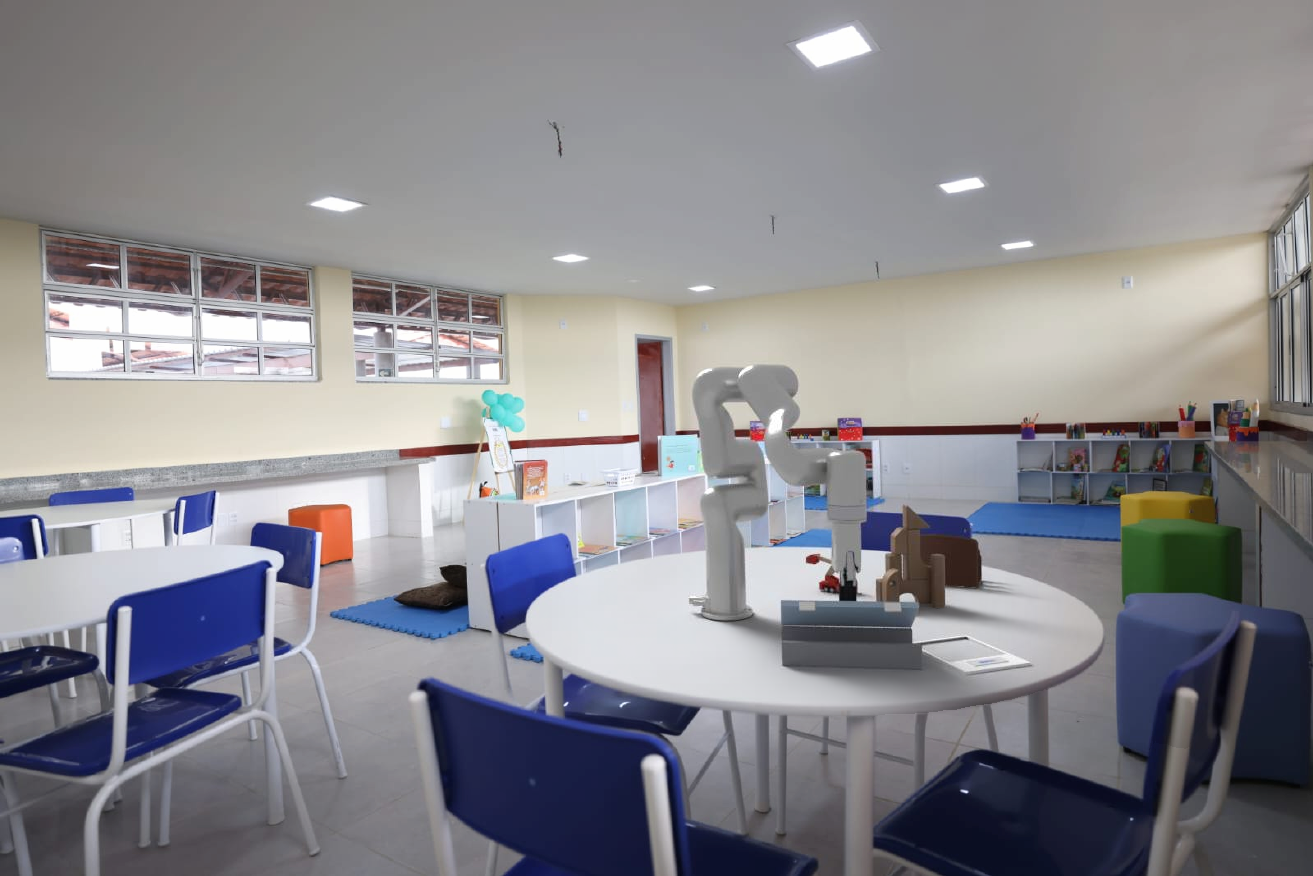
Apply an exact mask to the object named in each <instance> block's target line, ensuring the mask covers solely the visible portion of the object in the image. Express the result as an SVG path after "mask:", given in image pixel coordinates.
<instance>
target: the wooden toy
mask: <svg viewBox="0 0 1313 876" xmlns="http://www.w3.org/2000/svg"><path fill="white" fill-rule="evenodd" d="M926 529H927V530H929V529H931V526H930V525H929V524H928V523H927V522H926V521H925V520H924V519H923V518H921V517H920V515H918V514H917V513H916V512H915V511H914V510H913V509H912V508H911V507H910V506H909V505H907V504H902V527H896V528H895V529H894V531H893V532H892V533H891V534H890V552H888V553H885V555H884V558H885V559H884V562H885V563H884V564H885V568H884V569H885V573H884V574H883V575H882V578H875V598H876V600H875V601H879V602H901V601H900V600H901V599H900V598H901V596H902V595H903V594H905V595H906V594H911V595H912V596H913V598H914V602H919V606H929V605H930V606H932V607H933V608H936V609H943V608H946V585H945V556H944V555H942V554H932V555H931V567H930V566H928V565H926V564H924V563H923V561H922V560H921V558H920V534H921V530H926ZM903 570H904V578H903Z"/></svg>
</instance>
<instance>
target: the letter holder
mask: <svg viewBox="0 0 1313 876" xmlns="http://www.w3.org/2000/svg"><path fill="white" fill-rule="evenodd" d="M932 554H942V555H944V556H945V586H946V585H947V586H946V587H957V586H964V587H963V588H969V587H975V588H974V589H979V588H980V585H981V584H980V583H982V581H983V579H982V578H983V571H982V570H983V569H982V567H983V566H982V562H983V561H982V559H983V558H982V555H981V550H980V549H979V541H978V540H977V539H974V538H971V537H965V536H960V535H959V536H958V535H951V534H939V533H938V534H937V533H922V534H921V533H920V558H921V560H922V561H923V563H924V564H926V565H928V566H930V567H931V555H932ZM902 578H904V570H903V569H902Z"/></svg>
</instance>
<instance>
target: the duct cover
mask: <svg viewBox="0 0 1313 876" xmlns="http://www.w3.org/2000/svg"><path fill="white" fill-rule="evenodd" d="M919 610H920V604H919V602H915V601H900V602H879V601H876V600H875V601H874V600H873V601H870V600H869V601H866V600H865V601H864V600H863V601H862V600H861V601H860V600H859V601H858V600H857V601H839V600H796V599H795V600H794V599H793V600H792V599H790V600H789V599H781V600H780V623H781V624H780V626H821V627H874V628H911V629H912V627H913V624H914V623H915V619H916V618H917V616H918V615H917V614H918V613H919Z"/></svg>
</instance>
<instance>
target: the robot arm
mask: <svg viewBox="0 0 1313 876" xmlns="http://www.w3.org/2000/svg"><path fill="white" fill-rule="evenodd" d="M798 390H799V380H798V377H797V374H796V372H795V371H794V370H793V369H792V368H791V367H790V366H787V365H785V364H784V365H783V364H752V365H749V366H747V367H744V366H743V367H740V366H739V367H732V366H718V367H710V368H707V369H703V370H702V371H701V372H700V373H699V374H697V376H696V377H695V380H694V382H693V385H692V389H691V398H692V404H693V408H694V412H695V415H696V419H697V422H698V431H699V433H698V434H699V441H700V442H699V443H700V450H701V451H700V454H701V461H702V468H703V471H704V474H705V476H707V477H708V478H710V479H712V480H725V479H726V480H727V479H737V481H738V482H737V483H727V484H717V485H714V486H710V487H709V488H707V489H706V490H705V491H704V492H703V493H702V494H701V496H700V501H699V507H700V512H701V518H702V523H703V528H704V540H705V569H706V571H705V573H706V593H705V595H701V596H693V595H692V596H691V595H690V596H689V597H688V601H689V602H688V604H689V605H692V606H693V607H701V606H702V607H701V609H700V614H701V616H702V617H704V618H707V619H710V620H714V621H726V622H727V621H739V620H744V619H747V618H750V617H751V616H753V612H754V611H753V607H751V606H750V605H748V604H747V592H746V591H747V590H746V589H747V587H746V584H747V582H746V581H747V580H746V549H745V548H746V547H745V539H744V536H743V534H742V533H741V530H740V529H739V527H738V523H743V522H751V521H756V520H760V519H761V518H763V517H764V516H765V515H766V513H767V511H768V508H769V490H768V489H769V488H768V480H767V471H766V461H765V455H766V457H767V460H768V462H769V463H770V465H771V466H772V468H773V469H774V471H775V472H776V473H777V475H778V476H779V477H780V478H781V479H782V480H783V481H784V482H785V483H786V484H788V485H789V486H792V487H797V488H798V487H799V488H800V487H808V486H810V487H811V486H819V485H826V511H827V512H826V513H827V514H826V515H827V516H826V519H827V522H830V523H832V524H831V547H830V549H831V550H830V551H831V554H830V557H831V558H830V559H831V564H830V565H832V567H833V569H834V571H835V573H836V574H839V577H838V578H839V582H840V584H839V592H838V601H858V600H857V593H856V579H857V574H859V573H861V570H862V525H861V524H862V523H866V522H867V521H868V520H867V518H868V517H867V516H868V514H867V512H868V511H867V459H866V454H865V453H863V452H862V451H861V450H850V449H849V450H848V449H847V450H845V449H844V450H841V449H837V448H833V447H818V448H817V447H814V448H801V449H799V448H797V447H796V446H795V444H793V442H792V441H791V439H790V438H789V436H788V435H787V434H786V432H787V431H788V430H790V429H791V428H792V427H793V426H794V425H796V423H797V421H798V420H799V418H800V414H801V409H800V407H799V405H798V404H797V402H796V401H795V400H794V398H795V396H796V394H798V392H799V391H798ZM724 403H747V404H748V406H749V407H750V409H752V411H753V413H754V414H755V415H756V417H757V418H758V420H759V421H760V422H761V424H762V425H763V427H764V428H765V430H764V437H763V442H764V443H763V444H764V451H765V455H764V453H763V450H762V448H761V446H760V445H759V444H758V443H757V442H756V441H755V440H753V439H749V438H736V434H735V426H734V421H733V418H732V416H731V414H730V412H729V411H728V409H727V408H726V407H725V406H724Z"/></svg>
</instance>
